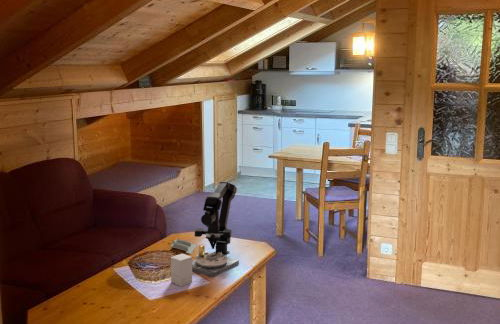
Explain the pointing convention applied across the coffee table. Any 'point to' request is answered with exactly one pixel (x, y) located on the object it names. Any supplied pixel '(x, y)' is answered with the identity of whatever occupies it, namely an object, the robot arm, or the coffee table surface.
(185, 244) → the metal bracket
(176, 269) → the supplement box
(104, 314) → the coffee table surface
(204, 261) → the silver round platform
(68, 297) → the coffee table surface
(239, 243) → the coffee table surface
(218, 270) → the base plate
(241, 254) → the coffee table surface
